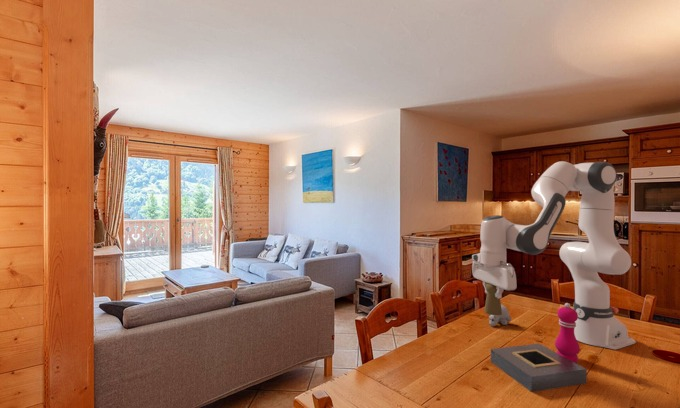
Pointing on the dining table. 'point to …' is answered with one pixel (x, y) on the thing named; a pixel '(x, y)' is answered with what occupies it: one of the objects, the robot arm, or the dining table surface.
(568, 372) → the block
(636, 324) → the dining table surface
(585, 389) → the dining table surface
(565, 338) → the pepper mill
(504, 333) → the dining table surface
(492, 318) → the round bodied animal figurine
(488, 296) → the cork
